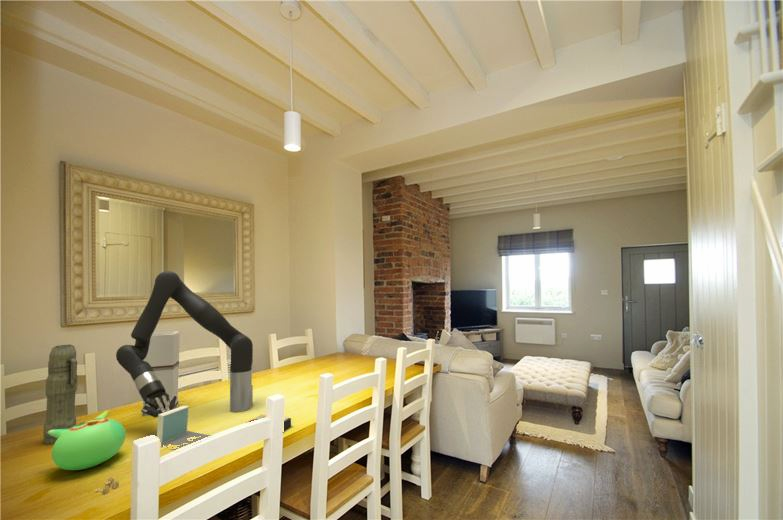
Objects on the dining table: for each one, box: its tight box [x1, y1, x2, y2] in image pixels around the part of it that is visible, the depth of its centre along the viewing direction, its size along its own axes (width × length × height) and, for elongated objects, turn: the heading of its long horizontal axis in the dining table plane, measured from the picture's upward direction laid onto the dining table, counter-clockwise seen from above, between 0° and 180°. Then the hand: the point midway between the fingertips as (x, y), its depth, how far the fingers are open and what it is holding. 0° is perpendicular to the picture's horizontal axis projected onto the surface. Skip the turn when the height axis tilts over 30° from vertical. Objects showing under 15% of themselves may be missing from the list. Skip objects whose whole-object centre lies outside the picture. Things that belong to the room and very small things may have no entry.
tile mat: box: [160, 430, 211, 451], centre depth 129 cm, size 16×13×1 cm
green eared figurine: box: [47, 410, 126, 471], centre depth 113 cm, size 18×17×15 cm
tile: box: [156, 405, 190, 444], centre depth 131 cm, size 3×10×10 cm, turn 157°
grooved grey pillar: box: [142, 331, 181, 417], centre depth 163 cm, size 11×11×35 cm
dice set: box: [94, 477, 119, 495], centre depth 99 cm, size 5×5×2 cm
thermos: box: [42, 344, 78, 446], centre depth 134 cm, size 9×12×35 cm
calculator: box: [245, 414, 292, 432], centre depth 137 cm, size 11×4×15 cm
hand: (170, 422), depth 131 cm, fingers closed
